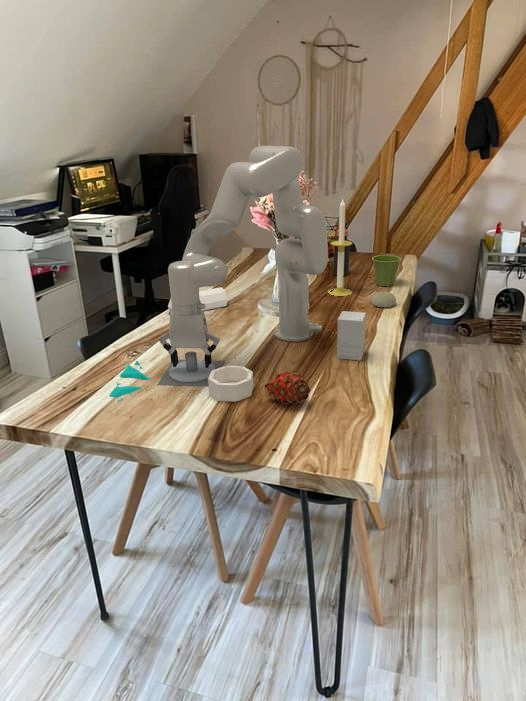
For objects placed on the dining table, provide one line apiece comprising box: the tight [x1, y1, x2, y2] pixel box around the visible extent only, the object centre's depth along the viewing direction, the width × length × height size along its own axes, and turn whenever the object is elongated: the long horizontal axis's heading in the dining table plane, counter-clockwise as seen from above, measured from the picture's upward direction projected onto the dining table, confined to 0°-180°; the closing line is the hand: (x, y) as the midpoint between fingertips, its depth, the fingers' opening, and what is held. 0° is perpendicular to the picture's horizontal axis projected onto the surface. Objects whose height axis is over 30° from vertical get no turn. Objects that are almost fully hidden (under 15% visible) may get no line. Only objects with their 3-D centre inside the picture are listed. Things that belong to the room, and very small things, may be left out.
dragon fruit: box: [264, 371, 311, 406], centre depth 130 cm, size 8×8×12 cm
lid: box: [169, 351, 215, 383], centre depth 146 cm, size 13×13×6 cm
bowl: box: [208, 365, 254, 402], centre depth 136 cm, size 11×11×5 cm
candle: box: [327, 198, 353, 297], centre depth 203 cm, size 10×10×38 cm
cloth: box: [109, 360, 152, 403], centre depth 143 cm, size 26×14×2 cm, turn 168°
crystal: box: [167, 286, 229, 313], centre depth 196 cm, size 7×7×24 cm
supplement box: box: [336, 310, 367, 361], centre depth 153 cm, size 7×7×13 cm
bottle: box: [332, 229, 351, 277], centre depth 229 cm, size 7×7×20 cm
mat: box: [156, 359, 226, 388], centre depth 147 cm, size 16×16×1 cm
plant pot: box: [371, 254, 402, 287], centre depth 217 cm, size 12×12×11 cm
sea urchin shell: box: [370, 290, 397, 309], centre depth 195 cm, size 9×8×8 cm
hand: (191, 365), depth 146 cm, fingers open, 8 cm apart
